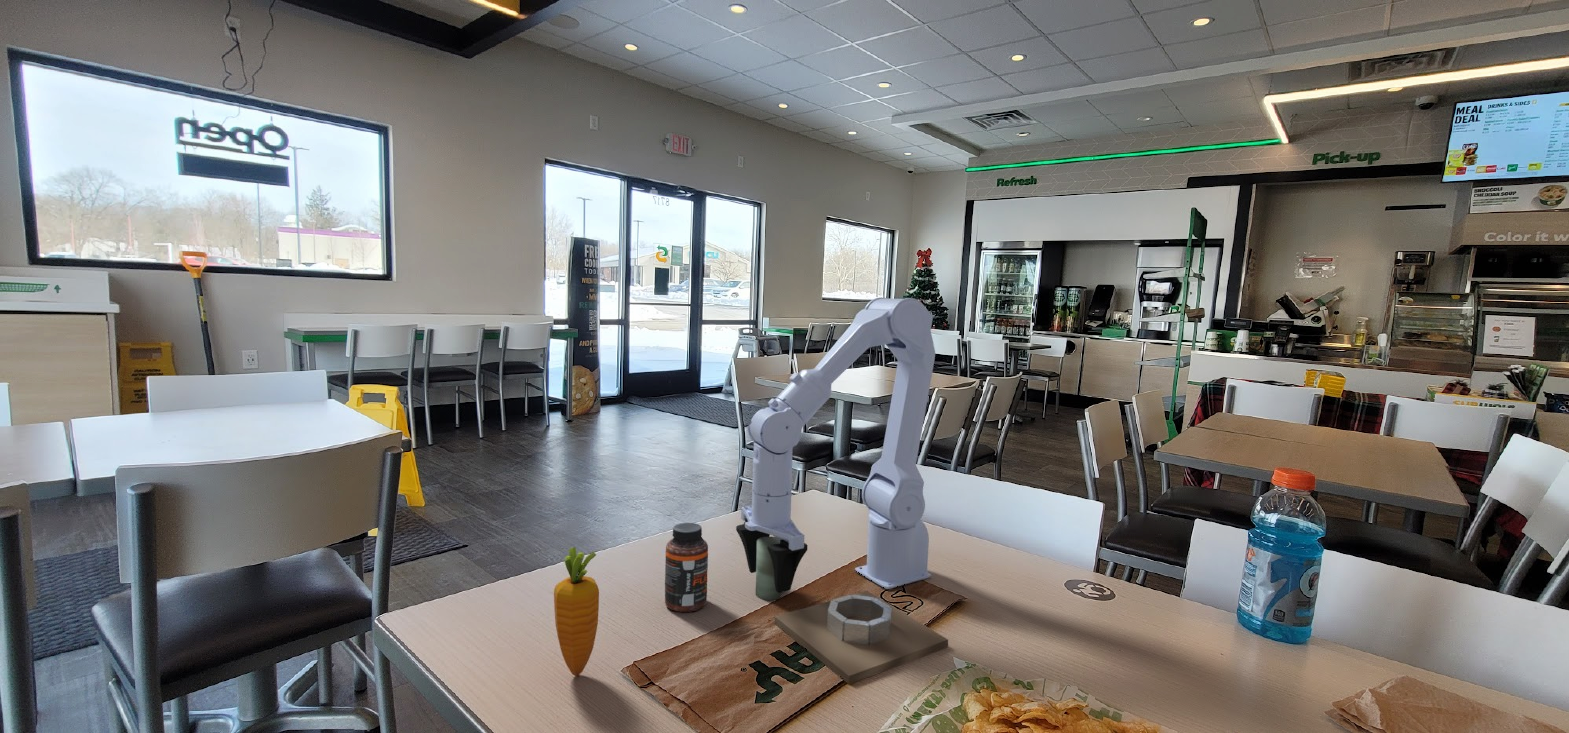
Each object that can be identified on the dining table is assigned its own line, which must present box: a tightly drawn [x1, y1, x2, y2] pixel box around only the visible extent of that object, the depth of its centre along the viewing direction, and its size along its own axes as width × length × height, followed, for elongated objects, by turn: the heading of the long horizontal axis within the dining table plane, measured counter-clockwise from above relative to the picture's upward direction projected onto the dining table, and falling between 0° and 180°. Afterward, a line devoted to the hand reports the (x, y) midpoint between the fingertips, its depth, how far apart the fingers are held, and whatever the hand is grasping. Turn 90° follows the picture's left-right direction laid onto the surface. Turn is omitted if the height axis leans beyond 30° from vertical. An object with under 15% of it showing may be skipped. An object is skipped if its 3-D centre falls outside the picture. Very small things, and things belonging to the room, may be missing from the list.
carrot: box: [553, 546, 600, 677], centre depth 74 cm, size 5×5×15 cm
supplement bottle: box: [664, 522, 709, 613], centre depth 92 cm, size 6×6×11 cm
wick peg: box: [755, 536, 784, 601], centre depth 96 cm, size 4×4×8 cm
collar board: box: [774, 590, 949, 685], centre depth 85 cm, size 16×16×1 cm
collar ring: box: [827, 594, 891, 645], centre depth 85 cm, size 8×8×2 cm
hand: (769, 580), depth 96 cm, fingers open, 7 cm apart
